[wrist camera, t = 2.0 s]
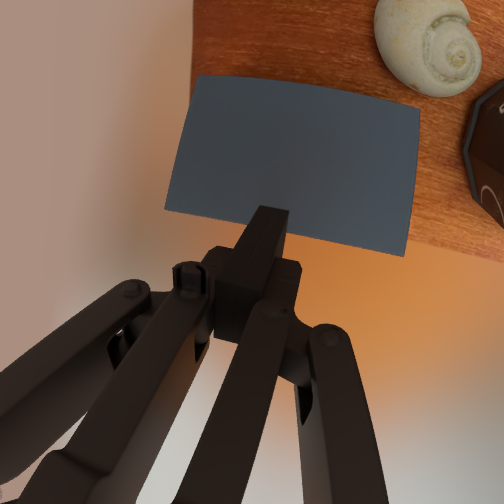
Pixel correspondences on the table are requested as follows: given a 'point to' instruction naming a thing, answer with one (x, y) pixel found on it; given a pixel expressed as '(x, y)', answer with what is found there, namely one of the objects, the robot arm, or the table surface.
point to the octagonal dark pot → (486, 151)
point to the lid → (299, 159)
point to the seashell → (428, 45)
